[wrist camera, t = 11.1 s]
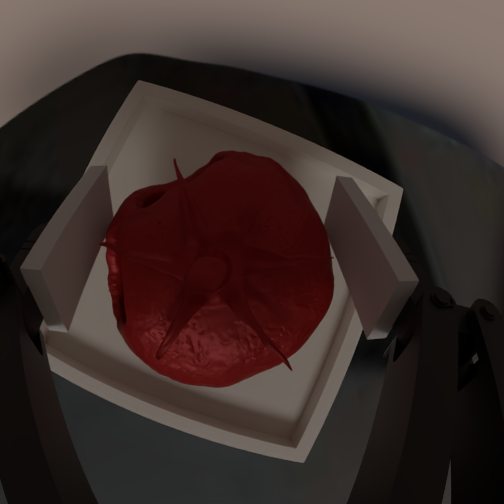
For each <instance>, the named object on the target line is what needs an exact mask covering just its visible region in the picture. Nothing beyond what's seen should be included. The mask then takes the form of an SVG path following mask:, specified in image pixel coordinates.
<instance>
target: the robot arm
mask: <svg viewBox="0 0 504 504" xmlns="http://www.w3.org/2000/svg"><path fill="white" fill-rule="evenodd" d="M113 218H114V216H113V209H112V202H111V195H110V187H109V179H108V171H107V165H101V166H91V167H90V168H89V169H88V170H87V172H86V173H85V174H84V175H83V177H82V178H81V179H80V180H79V182H78V183H77V184H76V186H75V187H74V188H73V190H72V191H71V192H70V194H69V195H68V196H67V198H66V199H65V200H64V202H63V203H62V204H61V206H60V207H59V209H58V210H57V211H56V213H55V214H54V216H53V217H52V219H51V220H50V221H49V223H42V224H41V225H39V226H38V227H37V228H36V229H34V230H33V231H32V232H31V234H30V235H29V237H28V238H27V240H26V242H25V243H24V244H23V246H22V247H21V250H19V252H18V253H17V255H16V257H15V258H14V260H13V261H12V263H11V265H10V266H9V265H8V263H7V260H6V258H5V256H4V255H3V254H1V253H0V480H1V483H2V487H3V490H4V493H5V496H6V499H7V502H8V504H98V502H97V500H96V498H95V496H94V494H93V492H92V489H91V487H90V485H89V483H88V481H87V478H86V476H85V474H84V471H83V469H82V466H81V464H80V461H79V459H78V456H77V454H76V451H75V449H74V446H73V443H72V440H71V438H70V435H69V432H68V429H67V426H66V423H65V420H64V417H63V413H62V410H61V407H60V403H59V400H58V396H57V393H56V389H55V385H54V382H53V378H52V373H51V369H50V365H49V361H48V356H47V351H46V346H45V341H44V336H43V334H42V332H41V330H40V326H41V324H42V321H43V319H44V321H45V323H46V325H47V327H48V329H49V330H52V331H60V332H69V329H70V326H71V323H72V320H73V317H74V314H75V311H76V309H77V306H78V303H79V300H80V298H81V295H82V293H83V290H84V287H85V285H86V282H87V280H88V277H89V275H90V272H91V270H92V267H93V265H94V262H95V260H96V258H97V255H98V253H99V251H100V248H101V245H98V244H99V243H101V242H104V239H105V237H106V232H107V230H108V227H109V225H110V223H111V221H112V220H113ZM324 227H325V229H326V232H327V235H328V239H329V242H330V244H331V247H332V249H333V252H334V254H335V256H336V259H337V261H338V264H339V266H340V269H341V271H342V274H343V276H344V279H345V282H346V284H347V287H348V289H349V292H350V295H351V297H352V300H353V302H354V305H355V308H356V311H357V313H358V316H359V319H360V321H361V324H362V327H363V330H364V333H365V335H366V338H367V339H377V338H386V336H387V335H388V333H389V332H390V330H391V329H392V327H393V329H394V331H395V333H396V336H395V338H394V339H393V341H392V342H391V344H390V345H389V347H388V348H387V350H386V351H385V353H384V355H383V356H384V357H386V356H387V355H388V353H389V352H390V355H389V360H388V365H387V369H386V374H385V379H384V383H383V388H382V392H381V396H380V400H379V404H378V408H377V412H376V416H375V420H374V423H373V427H372V430H371V434H370V437H369V441H368V444H367V447H366V450H365V454H364V457H363V460H362V463H361V466H360V469H359V472H358V475H357V478H356V481H355V483H354V486H353V489H352V491H351V494H350V497H349V499H348V502H347V504H441V503H442V499H443V494H444V490H445V485H446V480H447V475H448V469H449V463H450V458H451V504H504V323H503V320H502V318H501V315H500V313H499V311H498V309H497V308H496V307H495V306H494V305H493V304H492V303H491V302H489V301H487V300H484V299H477V300H476V301H475V302H474V303H473V305H472V306H471V307H470V308H468V307H464V306H460V305H456V302H455V300H454V299H453V297H452V296H451V295H450V294H449V293H448V292H447V291H445V290H444V289H442V288H440V287H436V286H433V285H432V283H431V282H430V280H429V278H428V277H427V275H426V273H425V272H424V270H423V268H422V267H421V265H420V264H419V263H418V262H417V261H418V260H417V259H416V257H415V256H414V255H413V253H412V251H411V249H410V248H409V246H408V245H407V244H406V243H405V242H404V241H403V240H402V239H401V238H399V237H398V236H392V235H391V234H390V232H389V231H388V229H387V227H386V226H385V224H384V223H383V221H382V220H381V218H380V217H379V215H378V214H377V212H376V211H375V209H374V208H373V207H372V205H371V204H370V202H369V201H368V199H367V198H366V196H365V195H364V194H363V192H362V191H361V189H360V188H359V187H358V185H357V184H356V182H355V181H354V180H353V178H351V177H342V176H336V180H335V184H334V188H333V192H332V195H331V199H330V203H329V207H328V211H327V215H326V218H325V222H324ZM476 353H477V355H478V359H479V360H478V361H477V362H476V363H475V364H474V363H473V361H472V357H473V356H474V355H475V354H476Z"/></svg>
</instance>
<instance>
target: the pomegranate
mask: <svg viewBox="0 0 504 504" xmlns="http://www.w3.org/2000/svg"><path fill="white" fill-rule="evenodd" d="M173 162H174V167H175V171H176V176H177V180H174V181H172V182H169V183H166V184H158V185H151V186H148V187H145V188H141V189H139V190H136V191H134V192H133V193H132V194H130V195H129V196H128V197H127V198H126V199H125V200H124V201H123V202H122V204H121V205H120V207H119V209H118V211H117V212H116V214H115V216H114V218H113V220H112V221H111V223H110V225H109V227H108V230H107V232H106V239H105V241H106V242H101V243H99V244H98V245H101V246H104V247H106V256H105V257H106V262H107V265H108V270H109V272H108V278H107V280H108V287H109V292H110V293H111V298H112V308H113V314H114V316H115V318H116V321H117V323H116V324H117V329H118V331H119V332H120V334H121V336H122V337H123V339H124V341H125V343H126V344H127V346H128V347H129V349H130V350H131V351H132V352H133V353H134V354H135V355H136V356H137V357H138V358H139V359H141V360H142V361H143V362H144V363H145V364H146V365H148V366H149V367H150V368H151V369H152V370H154V371H156V372H157V373H158V374H161V375H163V376H166V377H169V378H170V379H172V380H175V381H177V382H180V383H183V384H186V385H195V386H206V387H212V388H223V387H229V386H231V385H234V384H236V383H239V382H241V381H243V380H245V379H248V378H250V377H252V376H254V375H257V374H259V373H261V372H264V371H266V370H269V369H271V368H273V367H275V366H278V365H280V364H282V363H284V364H285V365H286V366H287V367H288V368H289V369H290V370H291V371H292V368H291V366H290V363H289V361H288V360H287V359H288V358H289V357H291V356H292V355H293V354H295V353H296V352H297V351H298V350H299V349H300V348H301V347H302V346H303V345H304V344H305V343H306V342H307V340H308V339H309V338H310V336H311V335H312V334H313V332H314V331H315V330H316V328H317V327H318V325H319V324H320V322H321V321H322V320H323V318H324V317H325V315H326V313H327V312H328V309H329V307H330V305H331V302H332V299H333V294H334V274H333V268H332V259H333V258H334V257H331V249H330V243H329V240H328V235H327V232H326V229H325V227H324V225H323V222H322V220H321V218H320V216H319V214H318V212H317V211H316V209H315V207H314V206H313V204H312V202H311V200H310V199H309V196H308V194H307V193H306V191H305V189H304V188H303V187H302V186H301V185H300V183H299V182H298V181H297V180H296V179H295V178H294V177H292V176H291V175H290V174H289V173H288V172H287V171H286V170H285V169H284V168H283V167H282V166H281V165H280V164H279V163H277V162H276V161H274V160H273V159H271V158H269V157H264V156H257V155H254V154H251V153H247V152H244V151H243V152H239V151H234V150H231V151H221V152H218V153H216V154H215V155H214V156H213V157H212V158H211V160H210V161H209V162H208V163H207V164H206V165H204V166H203V167H201V168H199V169H197V170H196V171H195V172H194V173H193V174H192V175H190V176H188V177H187V178H183V176H182V174H181V173H180V170H179V168H178V166H177V163H176V159H175V158H174V159H173Z"/></svg>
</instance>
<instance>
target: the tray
mask: <svg viewBox="0 0 504 504" xmlns="http://www.w3.org/2000/svg"><path fill="white" fill-rule="evenodd" d="M231 150H234V151H239V152H243V151H244V152H247V153H251V154H254V155H257V156H264V157H269V158H271V159H273V160H274V161H276V162H277V163H279V164H280V165H281V166H282V167H283V168H284V169H285V170H286V171H287V172H288V173H289V174H290V175H291V176H292V177H294V178H295V179H296V180H297V181H298V182H299V183H300V185H301V186H302V187H303V188H304V189H305V191H306V193H307V194H308V196H309V199H310V200H311V202H312V204H313V206H314V207H315V209H316V211H317V212H318V214H319V216H320V218H321V220H322V222H323V225H324V222H325V218H326V215H327V211H328V207H329V203H330V199H331V195H332V192H333V188H334V184H335V180H336V176H342V177H351V178H353V180H354V181H355V182H356V184H357V185H358V187H359V188H360V189H361V191H362V192H363V194H364V195H365V196H366V198H367V199H368V201H369V202H370V204H371V205H372V207H373V208H374V209H375V211H376V212H377V214H378V215H379V217H380V218H381V220H382V221H383V223H384V224H385V226H386V227H387V229H388V231H389V232H390V234H391V235H392V234H393V230H394V226H395V222H396V218H397V214H398V210H399V206H400V201H401V197H402V193H403V188H401V187H399V186H398V185H396V184H394V183H392V182H390V181H389V180H387V179H385V178H383V177H381V176H379V175H378V174H376V173H374V172H372V171H370V170H368V169H366V168H364V167H362V166H360V165H358V164H356V163H354V162H352V161H350V160H348V159H346V158H344V157H342V156H340V155H338V154H336V153H334V152H332V151H330V150H328V149H326V148H323V147H321V146H319V145H317V144H315V143H313V142H310V141H308V140H306V139H304V138H301V137H299V136H297V135H295V134H292V133H290V132H288V131H285V130H283V129H281V128H278V127H276V126H273V125H271V124H268V123H266V122H263V121H261V120H258V119H256V118H253V117H251V116H248V115H245V114H243V113H240V112H238V111H235V110H232V109H229V108H227V107H224V106H221V105H218V104H215V103H212V102H210V101H207V100H204V99H201V98H198V97H195V96H191V95H188V94H185V93H182V92H179V91H176V90H172V89H169V88H166V87H162V86H159V85H155V84H152V83H148V82H144V81H141V80H138V81H137V83H136V84H135V86H134V87H133V89H132V90H131V92H130V94H129V95H128V97H127V98H126V100H125V101H124V103H123V105H122V106H121V108H120V109H119V111H118V113H117V114H116V116H115V118H114V119H113V121H112V123H111V124H110V126H109V128H108V130H107V131H106V133H105V135H104V137H103V139H102V140H101V142H100V144H99V146H98V148H97V150H96V151H95V153H94V155H93V157H92V159H91V161H90V163H89V165H88V167H87V169H86V171H85V173H86V172H87V170H88V169H89V168H90V167H91V166H101V165H107V171H108V179H109V187H110V195H111V202H112V209H113V216H115V214H116V212H117V211H118V209H119V207H120V205H121V204H122V202H123V201H124V200H125V199H126V198H127V197H128V196H129V195H130V194H132V193H133V192H134V191H136V190H139V189H141V188H145V187H148V186H151V185H158V184H166V183H169V182H172V181H174V180H177V176H176V171H175V167H174V162H173V159H174V158H175V159H176V163H177V166H178V168H179V170H180V173H181V174H182V176H183V178H187V177H188V176H190V175H192V174H193V173H194V172H195V171H196V170H197V169H199V168H201V167H203V166H204V165H206V164H207V163H208V162H209V161H210V160H211V158H212V157H213V156H214V155H215V154H216V153H218V152H221V151H231ZM85 173H84V174H85ZM105 239H106V237H105ZM105 239H104V242H106V241H105ZM328 240H329V239H328ZM329 243H330V242H329ZM330 249H331V257H334V258H333V259H332V268H333V274H334V294H333V299H332V302H331V305H330V307H329V309H328V312H327V313H326V315H325V317H324V318H323V320H322V321H321V322H320V324H319V325H318V327H317V328H316V330H315V331H314V332H313V334H312V335H311V336H310V338H309V339H308V340H307V342H306V343H305V344H304V345H303V346H302V347H301V348H300V349H299V350H298V351H297V352H296V353H295V354H293V355H292V356H291V357H289V358H288V359H287V360H288V361H289V363H290V366H291V368H292V371H291V370H290V369H289V368H288V367H287V366H286V365H285V364H284V363H282V364H280V365H278V366H275V367H273V368H271V369H269V370H266V371H264V372H261V373H259V374H257V375H254V376H252V377H250V378H248V379H245V380H243V381H241V382H239V383H236V384H234V385H231V386H229V387H223V388H212V387H206V386H195V385H186V384H183V383H180V382H177V381H175V380H172V379H170V378H169V377H166V376H163V375H161V374H158V373H157V372H156V371H154V370H152V369H151V368H150V367H149V366H148V365H146V364H145V363H144V362H143V361H142V360H141V359H139V358H138V357H137V356H136V355H135V354H134V353H133V352H132V351H131V350H130V349H129V347H128V346H127V344H126V343H125V341H124V339H123V337H122V336H121V334H120V332H119V331H118V329H117V324H116V323H117V321H116V318H115V316H114V314H113V308H112V298H111V293H110V292H109V287H108V280H107V278H108V272H109V270H108V265H107V262H106V257H105V256H106V247H104V246H101V248H100V251H99V253H98V255H97V258H96V260H95V262H94V265H93V267H92V270H91V272H90V275H89V277H88V280H87V282H86V285H85V287H84V290H83V293H82V295H81V298H80V300H79V303H78V306H77V309H76V311H75V314H74V317H73V320H72V323H71V326H70V329H69V332H60V331H52V330H49V329H48V327H47V325H46V323H45V321H44V319H43V321H42V324H41V326H40V330H41V332H42V334H43V336H44V341H45V346H46V351H47V356H48V361H49V365H50V369H51V371H53V372H55V373H57V374H58V375H60V376H62V377H64V378H65V379H67V380H69V381H71V382H73V383H75V384H76V385H78V386H80V387H82V388H84V389H86V390H88V391H90V392H92V393H94V394H96V395H98V396H100V397H102V398H104V399H106V400H108V401H110V402H113V403H115V404H117V405H119V406H121V407H123V408H126V409H128V410H130V411H133V412H135V413H137V414H140V415H142V416H144V417H147V418H149V419H152V420H154V421H157V422H159V423H162V424H165V425H167V426H170V427H173V428H175V429H178V430H181V431H184V432H187V433H190V434H193V435H196V436H199V437H202V438H205V439H208V440H211V441H214V442H218V443H221V444H224V445H228V446H231V447H235V448H239V449H243V450H246V451H250V452H254V453H258V454H263V455H267V456H271V457H276V458H280V459H285V460H290V461H295V462H301V463H304V461H305V459H306V457H307V455H308V454H309V452H310V450H311V448H312V446H313V444H314V442H315V440H316V438H317V436H318V434H319V432H320V430H321V427H322V425H323V423H324V421H325V419H326V417H327V415H328V413H329V410H330V408H331V406H332V404H333V401H334V399H335V397H336V395H337V392H338V390H339V388H340V385H341V383H342V381H343V378H344V376H345V374H346V371H347V369H348V366H349V364H350V361H351V359H352V356H353V354H354V351H355V348H356V346H357V343H358V340H359V338H360V335H361V332H362V330H363V327H362V324H361V321H360V319H359V316H358V313H357V311H356V308H355V305H354V302H353V300H352V297H351V295H350V292H349V289H348V287H347V284H346V282H345V279H344V276H343V274H342V271H341V269H340V266H339V264H338V261H337V259H336V256H335V254H334V252H333V249H332V247H331V244H330Z"/></svg>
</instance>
